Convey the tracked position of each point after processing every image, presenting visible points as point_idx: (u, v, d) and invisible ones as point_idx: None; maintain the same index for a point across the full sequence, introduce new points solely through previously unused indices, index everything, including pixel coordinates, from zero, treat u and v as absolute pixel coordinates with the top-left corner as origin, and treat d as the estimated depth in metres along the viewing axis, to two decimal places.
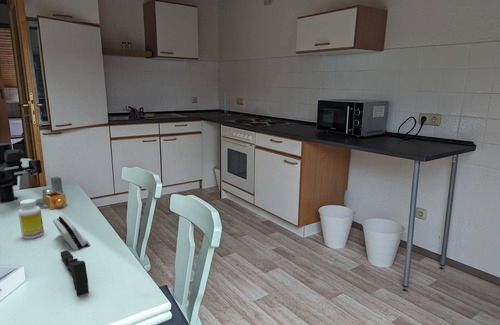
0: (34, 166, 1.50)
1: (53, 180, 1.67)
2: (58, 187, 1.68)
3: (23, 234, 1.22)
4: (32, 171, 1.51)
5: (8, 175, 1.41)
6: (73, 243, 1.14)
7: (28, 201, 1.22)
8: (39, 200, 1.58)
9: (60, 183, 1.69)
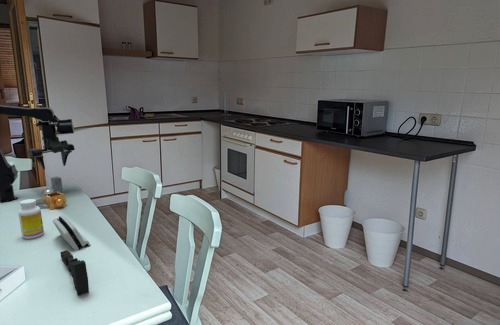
0: (66, 157, 1.70)
1: (53, 180, 1.67)
2: (58, 187, 1.68)
3: (23, 234, 1.22)
4: (62, 153, 1.70)
5: (42, 166, 1.63)
6: (73, 243, 1.14)
7: (28, 201, 1.22)
8: (39, 200, 1.58)
9: (60, 183, 1.69)
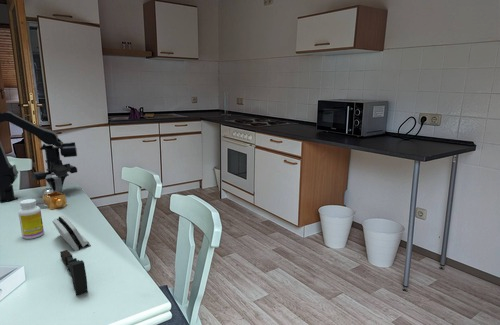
0: (62, 181, 1.70)
1: (53, 180, 1.67)
2: (58, 187, 1.68)
3: (23, 234, 1.22)
4: None
5: (52, 187, 1.68)
6: (74, 243, 1.13)
7: (28, 201, 1.22)
8: (39, 200, 1.58)
9: (60, 183, 1.69)
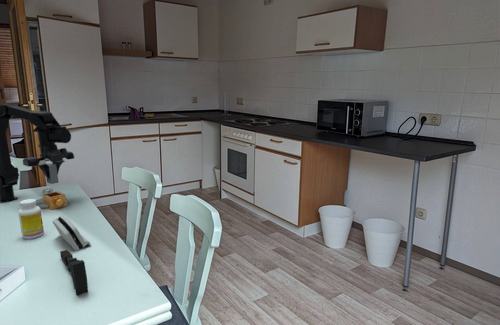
0: (58, 168, 1.53)
1: (47, 167, 1.50)
2: (53, 175, 1.51)
3: (23, 234, 1.22)
4: (54, 163, 1.54)
5: (46, 175, 1.51)
6: (74, 243, 1.13)
7: (28, 201, 1.22)
8: (39, 200, 1.58)
9: (55, 170, 1.52)
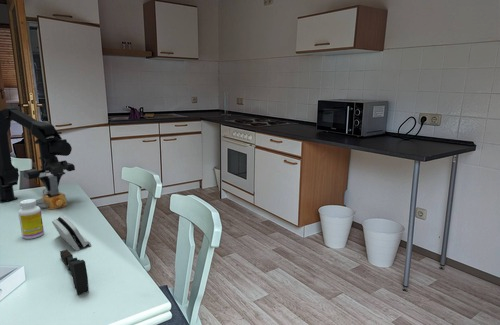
0: (58, 180, 1.53)
1: (48, 179, 1.50)
2: (53, 187, 1.51)
3: (23, 234, 1.22)
4: (54, 175, 1.54)
5: (46, 187, 1.50)
6: (74, 244, 1.13)
7: (28, 201, 1.22)
8: (39, 200, 1.58)
9: (56, 182, 1.51)
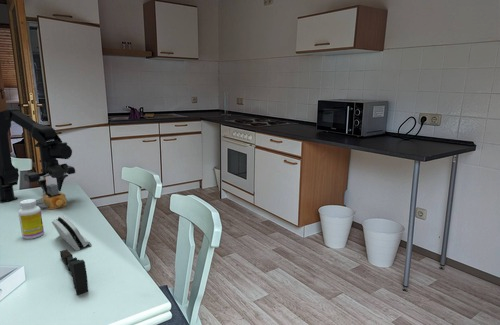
0: (61, 182, 1.54)
1: (49, 188, 1.51)
2: None
3: (23, 234, 1.22)
4: (57, 178, 1.55)
5: (44, 191, 1.50)
6: (75, 244, 1.13)
7: (28, 201, 1.22)
8: (39, 200, 1.58)
9: (57, 191, 1.52)
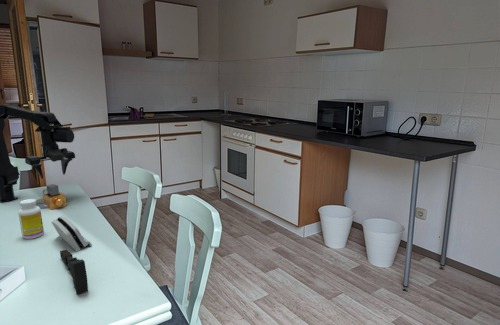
0: (66, 166, 1.60)
1: (49, 188, 1.51)
2: None
3: (23, 234, 1.22)
4: (62, 161, 1.60)
5: (40, 175, 1.53)
6: (75, 244, 1.13)
7: (28, 201, 1.22)
8: (39, 200, 1.58)
9: (57, 191, 1.52)
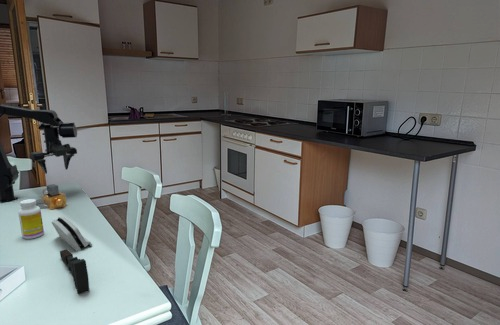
0: (68, 161, 1.67)
1: (49, 188, 1.51)
2: None
3: (23, 234, 1.22)
4: (64, 157, 1.68)
5: (44, 170, 1.60)
6: (76, 244, 1.13)
7: (28, 201, 1.22)
8: (39, 200, 1.58)
9: (57, 191, 1.52)
